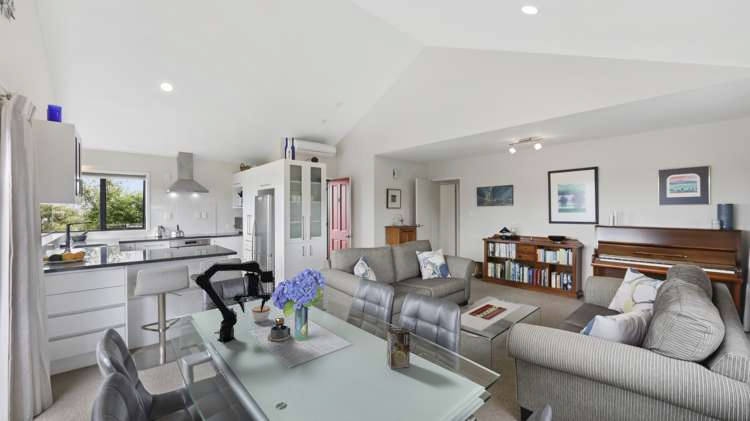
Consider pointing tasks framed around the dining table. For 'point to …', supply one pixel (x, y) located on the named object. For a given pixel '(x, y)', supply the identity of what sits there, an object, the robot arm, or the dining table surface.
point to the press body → (279, 333)
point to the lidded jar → (260, 313)
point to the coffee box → (398, 348)
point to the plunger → (279, 322)
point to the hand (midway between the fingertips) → (252, 312)
